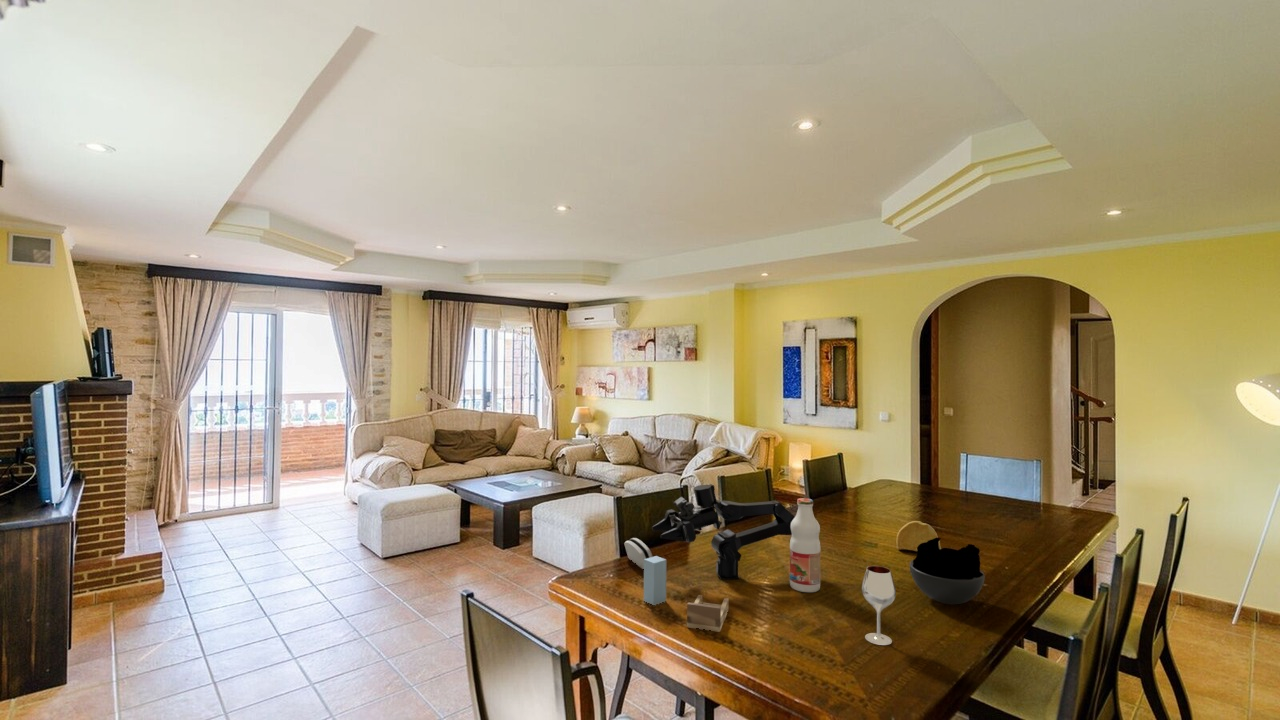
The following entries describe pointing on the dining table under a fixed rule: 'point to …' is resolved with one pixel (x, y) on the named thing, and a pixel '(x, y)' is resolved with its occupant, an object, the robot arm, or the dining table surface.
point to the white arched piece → (637, 551)
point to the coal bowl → (947, 572)
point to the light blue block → (654, 580)
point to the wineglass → (878, 597)
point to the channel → (706, 614)
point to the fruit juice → (805, 549)
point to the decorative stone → (915, 535)
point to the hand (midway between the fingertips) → (656, 532)
